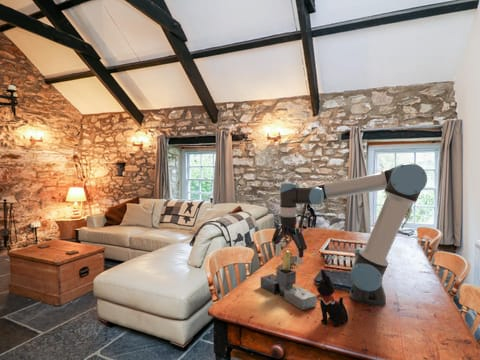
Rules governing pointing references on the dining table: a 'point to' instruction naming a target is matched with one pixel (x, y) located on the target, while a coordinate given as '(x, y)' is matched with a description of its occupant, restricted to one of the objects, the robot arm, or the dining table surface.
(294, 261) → the vertebra
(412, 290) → the dining table surface
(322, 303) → the figurine
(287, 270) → the pin
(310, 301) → the grey flat block
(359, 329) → the dining table surface
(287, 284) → the hinge base
